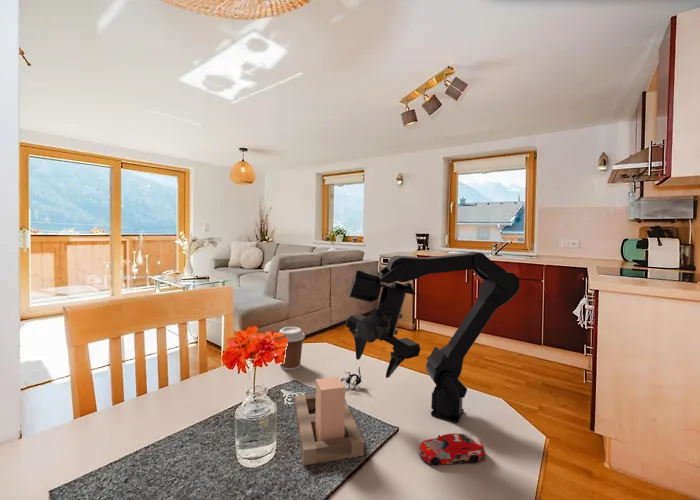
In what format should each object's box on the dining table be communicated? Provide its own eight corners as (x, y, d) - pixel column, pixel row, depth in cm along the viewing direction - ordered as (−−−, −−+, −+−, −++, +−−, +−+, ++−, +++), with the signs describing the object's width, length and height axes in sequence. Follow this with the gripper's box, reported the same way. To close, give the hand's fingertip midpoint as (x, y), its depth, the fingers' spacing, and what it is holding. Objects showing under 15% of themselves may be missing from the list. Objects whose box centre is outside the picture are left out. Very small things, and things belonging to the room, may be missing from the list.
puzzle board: (294, 407, 85) (294, 395, 84) (341, 402, 87) (341, 391, 87) (303, 465, 64) (303, 450, 64) (363, 456, 67) (364, 441, 67)
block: (337, 433, 74) (338, 376, 73) (343, 448, 69) (345, 387, 68) (315, 437, 73) (315, 379, 72) (320, 452, 68) (321, 390, 67)
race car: (423, 468, 64) (423, 448, 64) (415, 449, 70) (415, 431, 70) (489, 465, 66) (489, 445, 65) (476, 447, 71) (477, 428, 71)
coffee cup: (280, 374, 103) (281, 336, 103) (272, 363, 111) (272, 327, 110) (308, 368, 108) (309, 332, 107) (298, 358, 116) (299, 324, 115)
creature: (336, 397, 92) (364, 391, 92) (332, 379, 92) (361, 373, 92) (336, 384, 100) (363, 378, 100) (333, 367, 100) (359, 361, 100)
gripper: (339, 294, 80) (323, 355, 81) (405, 325, 68) (384, 396, 70) (367, 294, 89) (351, 349, 90) (429, 321, 77) (410, 385, 78)
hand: (372, 368), depth 82 cm, fingers open, 9 cm apart
